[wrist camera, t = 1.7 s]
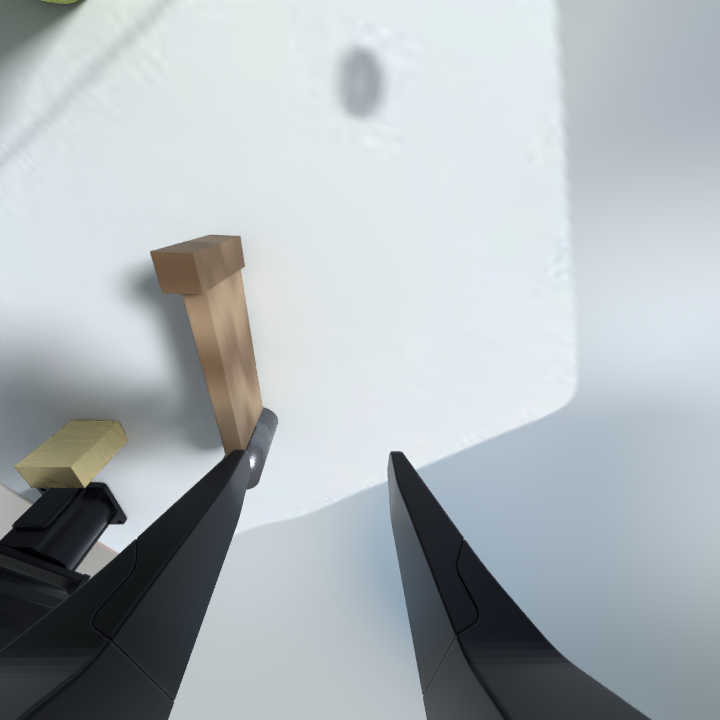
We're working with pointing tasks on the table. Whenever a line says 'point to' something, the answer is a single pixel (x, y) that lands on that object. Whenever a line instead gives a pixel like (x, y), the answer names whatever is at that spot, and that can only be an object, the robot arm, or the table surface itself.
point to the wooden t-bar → (217, 327)
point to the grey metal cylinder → (260, 445)
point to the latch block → (73, 454)
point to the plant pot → (60, 1)
